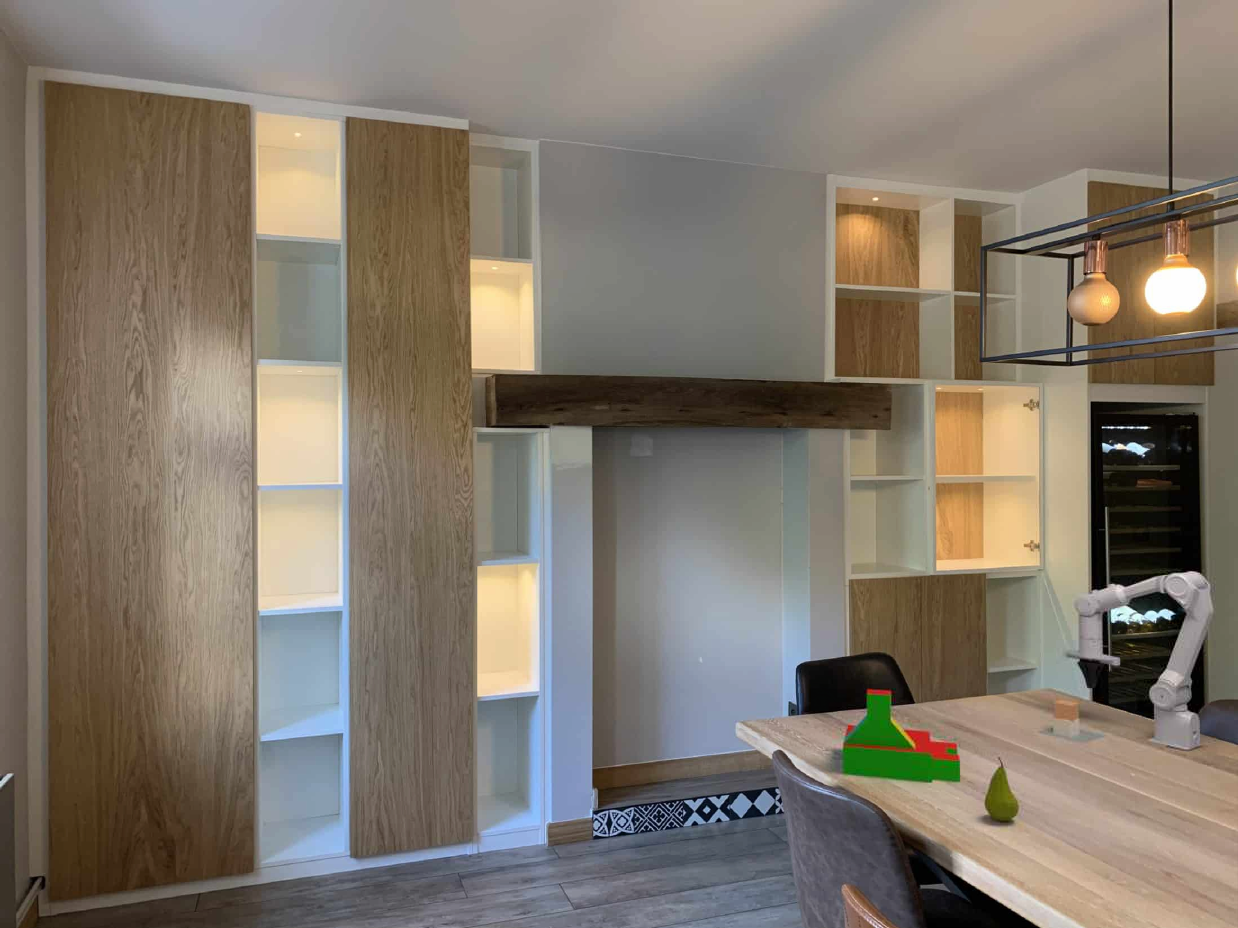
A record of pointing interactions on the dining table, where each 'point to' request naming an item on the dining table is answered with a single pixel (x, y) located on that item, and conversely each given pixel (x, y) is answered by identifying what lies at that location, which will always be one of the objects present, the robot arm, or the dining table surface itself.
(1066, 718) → the terracotta block
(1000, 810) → the fruit
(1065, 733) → the cream block
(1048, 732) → the grey square plate
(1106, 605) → the robot arm
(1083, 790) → the dining table surface
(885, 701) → the building blocks toy
